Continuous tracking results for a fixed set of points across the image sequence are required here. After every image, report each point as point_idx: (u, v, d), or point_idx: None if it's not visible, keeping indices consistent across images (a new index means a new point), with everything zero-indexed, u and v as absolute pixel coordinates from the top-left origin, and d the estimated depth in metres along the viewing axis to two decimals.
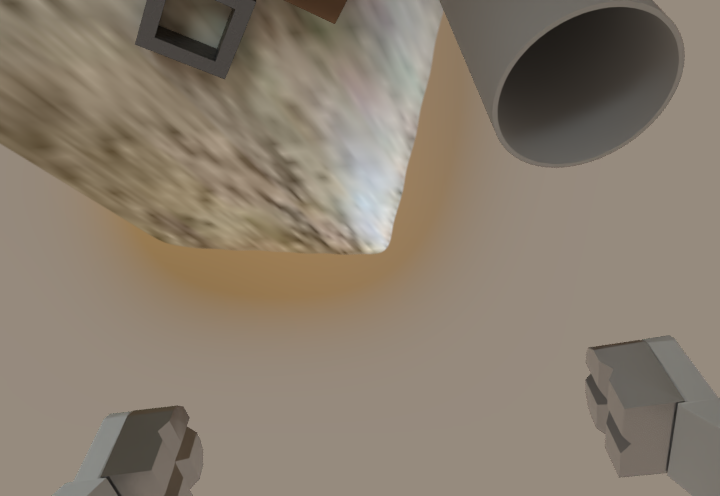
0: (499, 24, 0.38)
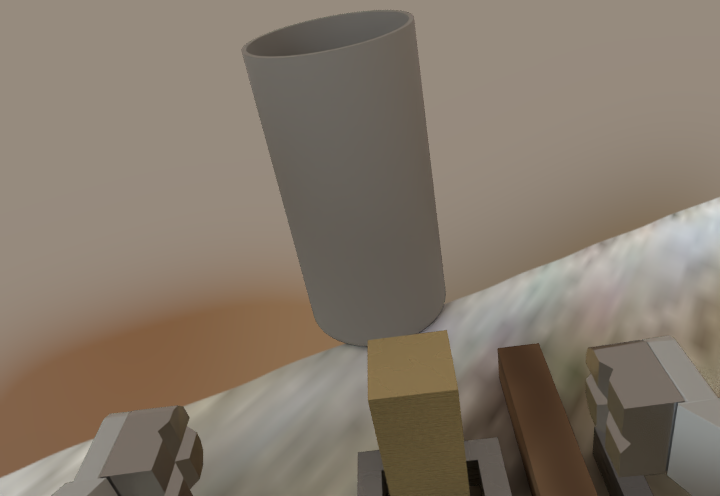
0: (331, 113, 0.38)
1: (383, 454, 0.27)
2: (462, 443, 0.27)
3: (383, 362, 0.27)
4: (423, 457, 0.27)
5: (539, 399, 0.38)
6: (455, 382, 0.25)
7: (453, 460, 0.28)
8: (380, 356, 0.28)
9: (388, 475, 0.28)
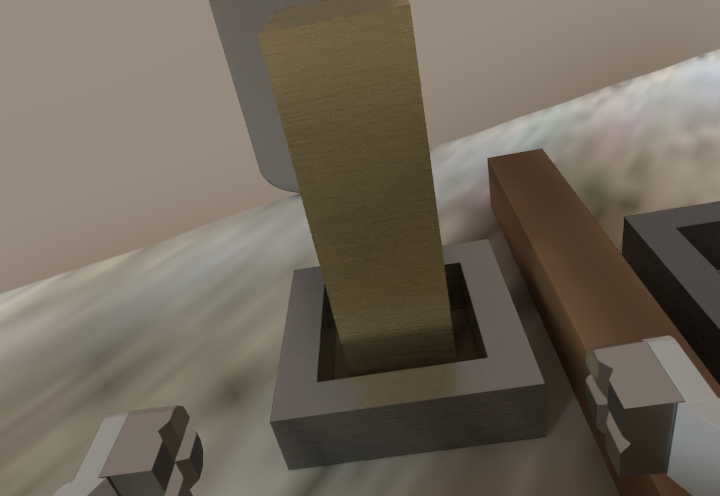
0: None
1: (297, 165, 0.17)
2: (424, 136, 0.16)
3: (293, 13, 0.17)
4: (362, 170, 0.17)
5: (545, 195, 0.27)
6: (406, 1, 0.15)
7: (413, 175, 0.17)
8: (291, 11, 0.17)
9: (310, 212, 0.18)
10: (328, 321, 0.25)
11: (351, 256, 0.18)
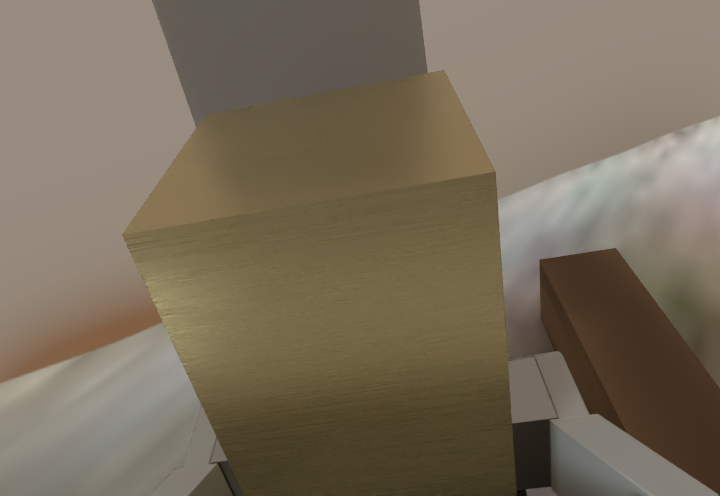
0: None
1: (237, 458, 0.08)
2: (505, 414, 0.08)
3: (229, 145, 0.08)
4: (371, 467, 0.08)
5: (638, 340, 0.18)
6: (482, 155, 0.06)
7: (475, 474, 0.08)
8: (226, 135, 0.08)
9: None
10: None
11: None
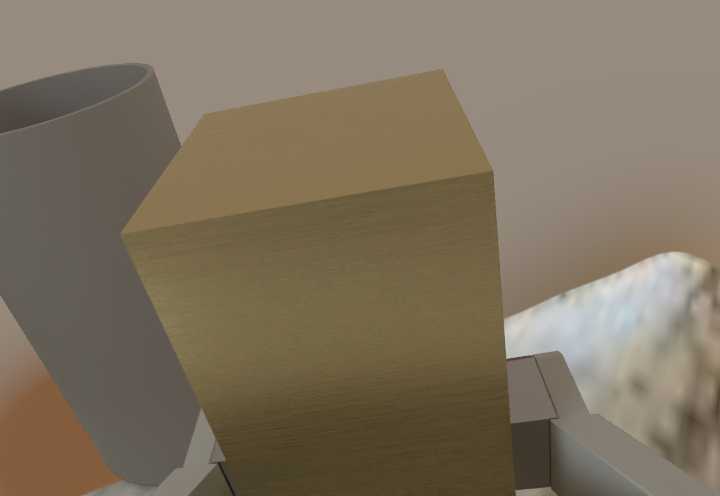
0: (9, 219, 0.27)
1: (235, 458, 0.08)
2: (504, 414, 0.08)
3: (227, 144, 0.08)
4: (370, 466, 0.08)
5: None
6: (479, 154, 0.06)
7: (474, 473, 0.08)
8: (225, 135, 0.08)
9: None
10: None
11: None
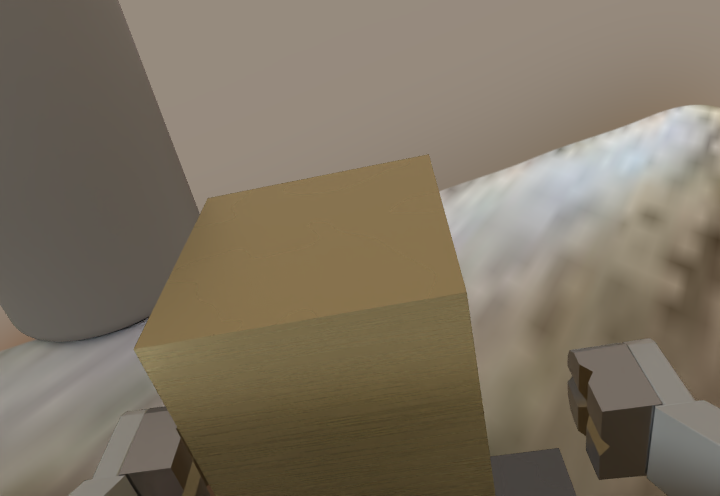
0: None
1: None
2: (489, 488, 0.08)
3: (228, 242, 0.09)
4: None
5: None
6: (456, 271, 0.07)
7: None
8: (227, 227, 0.09)
9: None
10: None
11: None
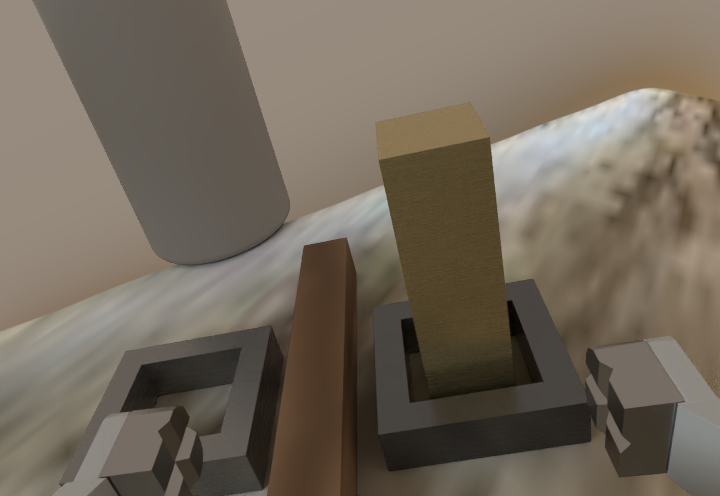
0: None
1: (400, 245, 0.23)
2: (496, 223, 0.22)
3: (395, 133, 0.22)
4: (448, 248, 0.23)
5: (324, 286, 0.34)
6: (485, 132, 0.21)
7: (486, 251, 0.23)
8: (391, 130, 0.23)
9: (408, 278, 0.23)
10: (142, 395, 0.32)
11: (436, 309, 0.24)
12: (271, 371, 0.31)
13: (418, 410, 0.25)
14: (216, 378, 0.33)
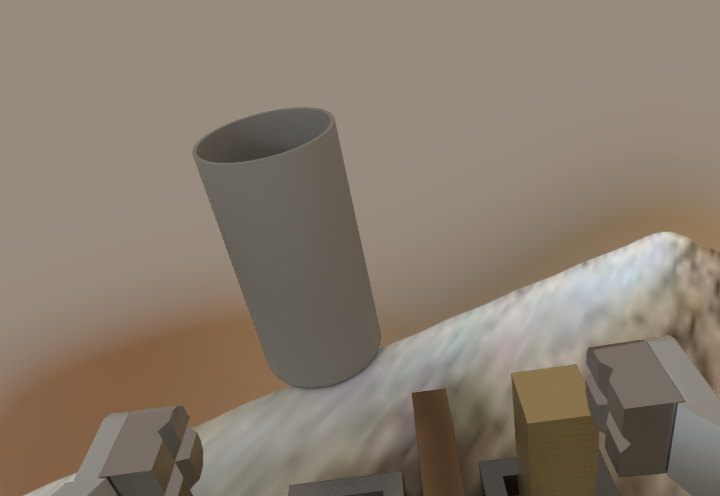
0: (264, 207, 0.46)
1: (531, 465, 0.34)
2: (596, 456, 0.34)
3: (530, 392, 0.34)
4: (563, 467, 0.34)
5: (438, 438, 0.46)
6: None
7: (587, 469, 0.34)
8: (526, 387, 0.34)
9: (532, 482, 0.35)
10: None
11: None
12: None
13: None
14: None
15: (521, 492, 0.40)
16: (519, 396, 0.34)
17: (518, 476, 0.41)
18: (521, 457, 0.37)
